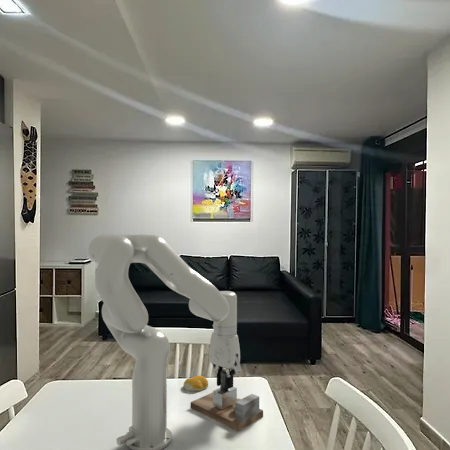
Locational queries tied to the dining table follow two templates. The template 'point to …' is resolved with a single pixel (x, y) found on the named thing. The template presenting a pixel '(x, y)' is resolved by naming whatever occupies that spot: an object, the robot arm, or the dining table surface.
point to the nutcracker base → (230, 411)
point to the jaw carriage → (224, 393)
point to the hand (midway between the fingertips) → (224, 385)
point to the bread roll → (196, 383)
